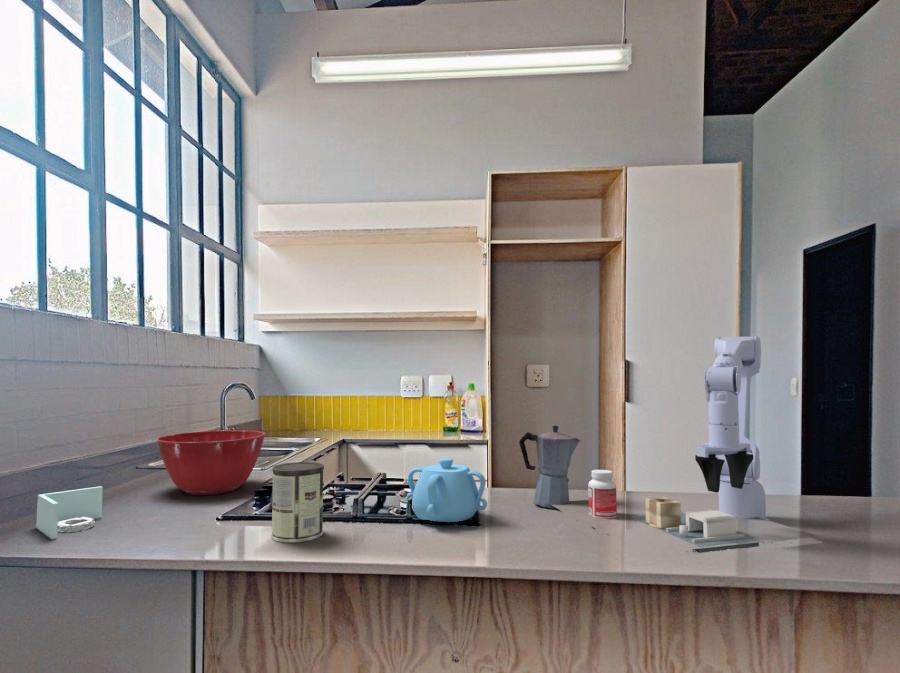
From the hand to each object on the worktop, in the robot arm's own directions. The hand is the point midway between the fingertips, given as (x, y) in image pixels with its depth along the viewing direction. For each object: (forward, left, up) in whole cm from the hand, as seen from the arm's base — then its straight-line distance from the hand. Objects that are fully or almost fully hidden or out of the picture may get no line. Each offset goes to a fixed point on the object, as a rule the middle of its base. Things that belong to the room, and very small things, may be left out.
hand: (725, 489), depth 116 cm
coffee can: (+85, -24, -10) cm, 89 cm away
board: (+6, -3, -9) cm, 12 cm away
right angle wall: (+130, -43, -10) cm, 138 cm away
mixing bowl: (+107, -75, -10) cm, 132 cm away
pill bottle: (+18, -17, -10) cm, 27 cm away
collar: (+11, -6, -8) cm, 15 cm away
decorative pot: (+52, -28, -10) cm, 60 cm away
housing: (+5, +2, -8) cm, 10 cm away
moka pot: (+23, -33, -10) cm, 42 cm away
